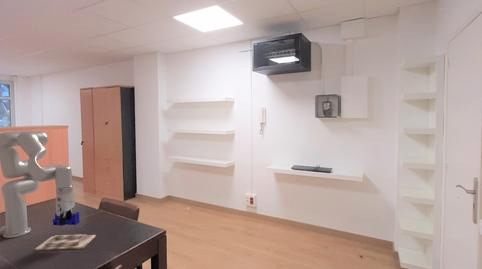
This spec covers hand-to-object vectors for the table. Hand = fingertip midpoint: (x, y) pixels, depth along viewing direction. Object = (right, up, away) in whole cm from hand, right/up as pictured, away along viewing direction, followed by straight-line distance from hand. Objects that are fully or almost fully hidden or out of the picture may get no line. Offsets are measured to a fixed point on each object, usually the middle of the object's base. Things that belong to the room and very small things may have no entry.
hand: (66, 222), depth 142 cm
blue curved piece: (0, -1, 0) cm, 1 cm away
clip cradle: (0, -12, +1) cm, 12 cm away
